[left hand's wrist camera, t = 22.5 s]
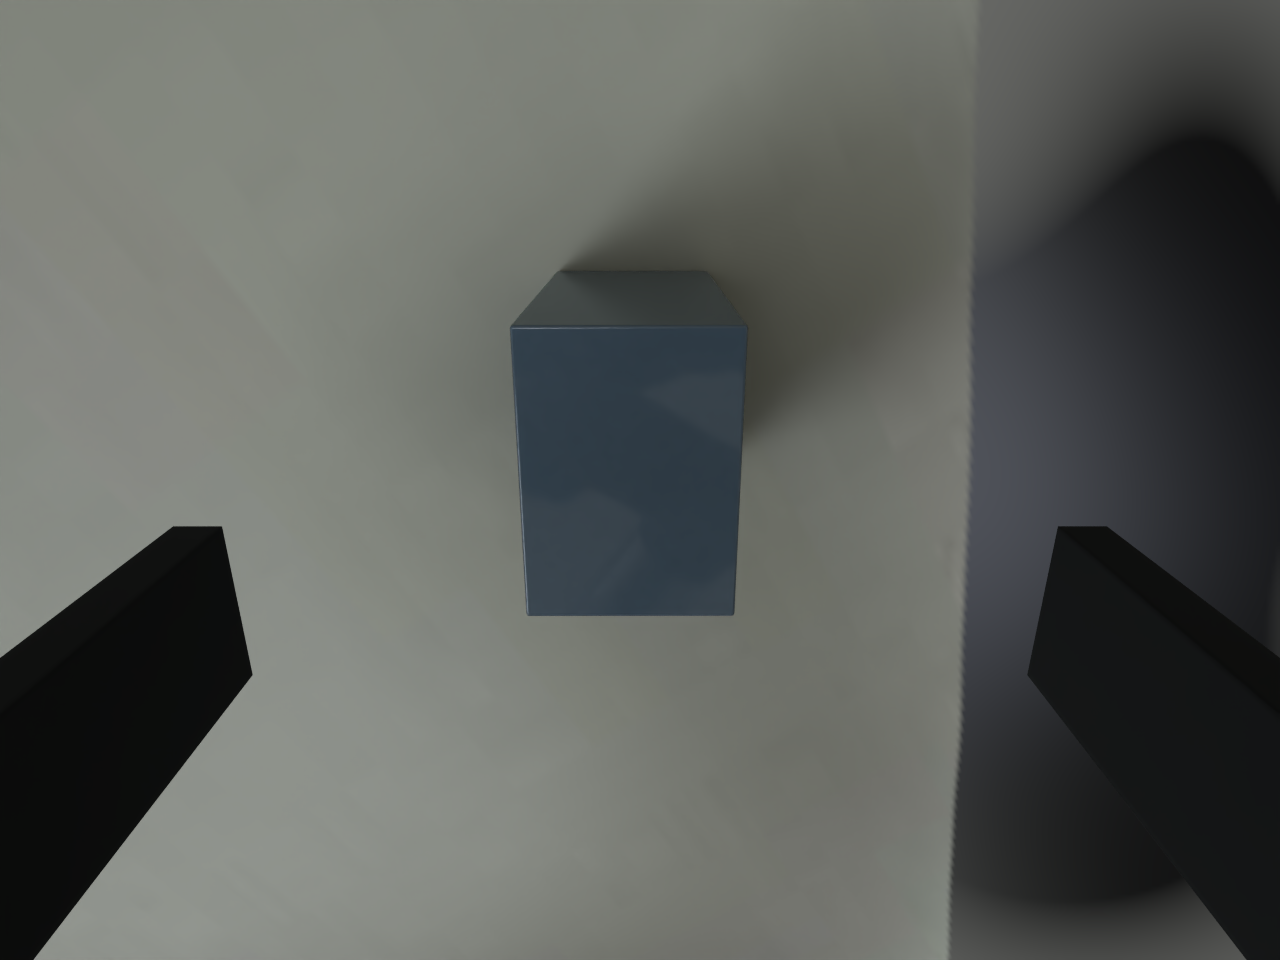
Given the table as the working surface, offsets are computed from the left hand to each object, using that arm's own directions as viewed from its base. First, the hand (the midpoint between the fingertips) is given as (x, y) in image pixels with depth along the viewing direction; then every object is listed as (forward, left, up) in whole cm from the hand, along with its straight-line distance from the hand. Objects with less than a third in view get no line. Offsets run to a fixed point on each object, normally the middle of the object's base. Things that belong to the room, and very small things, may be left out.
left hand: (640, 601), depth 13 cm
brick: (0, 0, -16) cm, 16 cm away
